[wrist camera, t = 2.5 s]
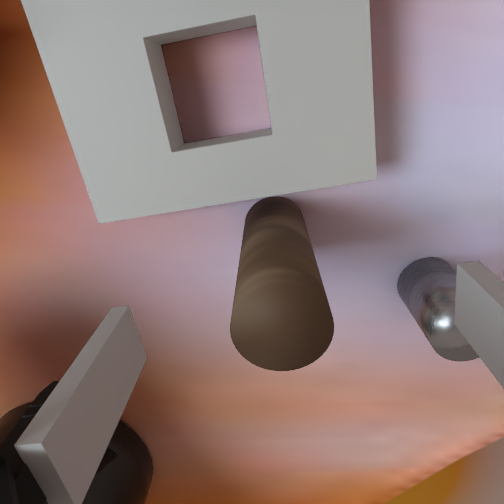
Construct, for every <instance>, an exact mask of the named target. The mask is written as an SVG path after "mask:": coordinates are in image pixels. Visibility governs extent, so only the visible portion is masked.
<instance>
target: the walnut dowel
mask: <svg viewBox="0 0 504 504" xmlns="http://www.w3.org/2000/svg"><path fill="white" fill-rule="evenodd" d="M230 333H231V338H232V341H233V343H234V345H235V347H236V349H237V350H238V352H239V353H240V354H241V355H242V356H243V357H244V358H245V359H246V360H248V361H249V362H251V363H252V364H254V365H256V366H259V367H261V368H264V369H268V370H274V371H289V370H295V369H299V368H302V367H304V366H307V365H309V364H311V363H313V362H314V361H315V360H317V359H318V358H319V357H320V356H322V355H323V353H324V352H325V351H326V350H327V348H328V347H329V345H330V343H331V341H332V337H333V333H334V322H333V317H332V313H331V310H330V307H329V303H328V300H327V296H326V293H325V290H324V286H323V283H322V279H321V276H320V273H319V269H318V266H317V262H316V259H315V256H314V252H313V249H312V245H311V242H310V239H309V235H308V232H307V228H306V225H305V222H304V218H303V215H302V213H301V211H300V209H299V208H298V207H297V206H296V205H295V204H294V203H293V202H291V201H290V200H288V199H285V198H282V197H268V198H265V199H262V200H260V201H258V202H257V203H255V204H254V205H253V206H252V207H251V209H250V210H249V212H248V214H247V216H246V219H245V226H244V233H243V240H242V247H241V254H240V261H239V267H238V274H237V281H236V288H235V295H234V302H233V309H232V316H231V323H230Z"/></svg>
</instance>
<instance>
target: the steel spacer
mask: <svg viewBox="0 0 504 504" xmlns="http://www.w3.org/2000/svg"><path fill="white" fill-rule="evenodd" d="M456 275H457V271H456V270H455V269H454V268H453V267H452V266H451V265H450V264H448V263H447V262H446V261H444V260H442V259H439V258H434V257H427V258H422V259H419V260H416V261H414V262H412V263H411V264H409V265H408V266H407V267H406V268H405V269H404V270H403V271H402V273H401V274H400V276H399V279H398V283H397V290H398V293H399V295H400V297H401V299H402V300H403V302H404V303H405V305H406V306H407V308H408V309H409V311H410V313H411V314H412V316H413V317H414V319H415V320H416V322H417V323H418V325H419V327H420V328H421V330H422V331H423V333H424V334H425V336H426V337H427V339H428V341H429V342H430V344H431V345H432V347H433V348H434V350H435V351H436V352H437V353H438V354H439V355H440V356H442V357H444V358H446V359H448V360H452V361H468V360H473V359H476V358H479V355H478V354H477V353H476V352H475V350H474V349H473V348H472V346H471V345H470V344H469V342H468V341H467V340H466V338H465V337H464V336H463V335H462V333H461V332H460V331H459V329H458V328H457V327H456V325H455V324H454V317H455V296H456Z"/></svg>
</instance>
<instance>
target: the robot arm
mask: <svg viewBox="0 0 504 504" xmlns="http://www.w3.org/2000/svg"><path fill="white" fill-rule="evenodd" d="M454 324H455V325H456V327H457V328H458V329H459V331H460V332H461V333H462V335H463V336H464V337H465V338H466V340H467V341H468V342H469V344H470V345H471V346H472V348H473V349H474V350H475V352H476V353H477V354H478V355H479V357H480V358H481V359H482V361H483V362H484V363H485V365H486V366H487V367H488V369H489V370H490V371H491V373H492V374H493V375H494V376H495V378H496V379H497V380H498V382H499V383H500V384H501V386H502V387H503V388H504V282H503V281H501V280H500V279H499V278H498V277H497V276H496V275H494V274H493V273H492V272H491V271H490V270H489V269H487V268H486V267H485V266H484V265H483V264H482V263H480V262H479V261H472V262H464V263H457V275H456V296H455V317H454ZM146 360H147V356H146V353H145V350H144V347H143V345H142V342H141V339H140V336H139V333H138V330H137V327H136V325H135V322H134V319H133V316H132V313H131V310H130V307H129V306H122V307H114V308H111V309H110V311H109V312H108V314H107V315H106V316H105V318H104V319H103V321H102V322H101V323H100V325H99V326H98V328H97V329H96V331H95V332H94V333H93V335H92V336H91V338H90V339H89V340H88V342H87V343H86V345H85V346H84V347H83V349H82V350H81V352H80V353H79V355H78V356H77V357H76V359H75V360H74V362H73V363H72V364H71V366H70V367H69V369H68V370H67V371H66V373H65V374H64V376H63V377H62V379H61V380H60V381H54V382H52V383H51V384H50V385H49V386H47V387H46V388H45V389H44V390H43V391H42V392H40V393H39V395H38V396H37V397H36V399H35V400H34V401H33V403H29V404H25V405H22V406H19V407H17V408H15V409H13V410H11V411H9V412H8V413H6V414H5V415H4V416H2V417H1V418H0V504H144V503H145V500H146V497H147V494H148V490H149V487H150V483H151V480H152V474H153V467H152V461H151V457H150V455H149V452H148V450H147V448H146V447H145V445H144V444H143V442H142V441H141V440H140V438H139V437H138V436H137V435H136V434H135V433H134V432H133V431H132V430H131V429H130V428H129V427H127V426H126V425H125V424H123V423H122V422H121V421H119V420H120V418H121V415H122V413H123V411H124V409H125V407H126V404H127V402H128V400H129V398H130V395H131V393H132V391H133V389H134V386H135V384H136V382H137V380H138V378H139V375H140V373H141V371H142V369H143V366H144V364H145V362H146Z"/></svg>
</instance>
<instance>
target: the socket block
mask: <svg viewBox="0 0 504 504" xmlns="http://www.w3.org/2000/svg"><path fill="white" fill-rule="evenodd" d="M21 2H22V5H23V8H24V11H25V13H26V16H27V19H28V22H29V25H30V28H31V31H32V33H33V36H34V39H35V42H36V45H37V48H38V51H39V54H40V56H41V59H42V62H43V65H44V68H45V71H46V74H47V76H48V79H49V82H50V85H51V88H52V91H53V94H54V96H55V99H56V102H57V105H58V108H59V111H60V114H61V116H62V119H63V122H64V125H65V128H66V131H67V134H68V136H69V139H70V142H71V145H72V148H73V151H74V154H75V157H76V159H77V162H78V165H79V168H80V171H81V174H82V177H83V179H84V182H85V185H86V188H87V191H88V194H89V197H90V199H91V202H92V205H93V208H94V211H95V214H96V217H97V219H98V222H99V224H100V223H106V222H112V221H119V220H125V219H131V218H137V217H144V216H150V215H156V214H163V213H169V212H175V211H181V210H188V209H194V208H200V207H206V206H213V205H219V204H225V203H232V202H238V201H244V200H250V199H257V198H263V197H269V196H275V195H282V194H288V193H294V192H300V191H307V190H313V189H319V188H326V187H332V186H338V185H344V184H351V183H357V182H363V181H369V180H376V179H377V169H376V145H375V122H374V99H373V75H372V52H371V29H370V5H369V0H21ZM256 25H257V31H258V38H259V45H260V52H261V59H262V66H263V73H264V80H265V86H266V93H267V100H268V107H269V114H270V121H271V128H269V129H264V130H258V131H252V132H247V133H241V134H235V135H230V136H224V137H218V138H213V139H207V140H201V141H196V142H190V143H184V141H183V137H182V132H181V128H180V124H179V120H178V115H177V111H176V107H175V103H174V98H173V94H172V90H171V86H170V81H169V77H168V73H167V69H166V64H165V60H164V56H163V52H162V47H161V45H163V44H168V43H173V42H178V41H182V40H187V39H192V38H197V37H202V36H207V35H212V34H217V33H222V32H227V31H232V30H236V29H241V28H246V27H251V26H256Z"/></svg>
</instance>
